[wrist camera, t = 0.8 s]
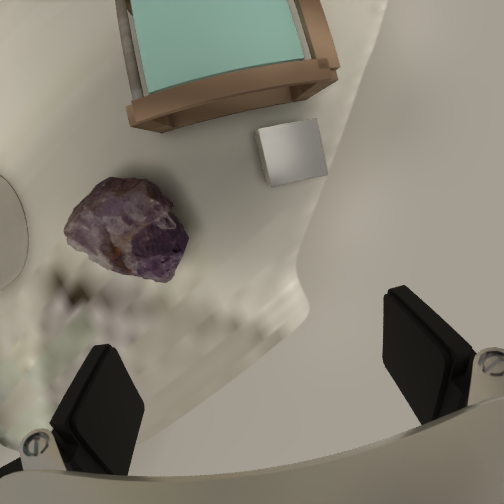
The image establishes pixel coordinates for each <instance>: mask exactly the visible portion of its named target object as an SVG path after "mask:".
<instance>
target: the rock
mask: <svg viewBox="0 0 504 504" xmlns="http://www.w3.org/2000/svg"><path fill="white" fill-rule="evenodd" d="M172 207H174V205H173V202H172V201H170V200H169V199H168V198H167V197H166V196H164V195H163V193H162V192H161V191H160V189H159V188H158V186H156V185H155V184H153V183H152V182H150V181H148V180H147V179H137V178H125V179H122V178H115V177H109V178H107V179H105V180H104V181H102V182H100V183H99V184H97V185H96V186H95V187H94V189H93V190H92V192H91V193H90V194H89V195H88V196H86V197H85V198H84V199H83V200H82V201H81V202H80V204H78V205H77V206H76V207H75V208H74V209H73V212H72V214H71V215H70V217H69V219H68V222H67V224H66V226H65V228H64V234H65V236H66V237H67V243H68V245H70V246H72V247H73V248H74V249H75V250H76V251H82V252H85V253H87V254H88V255H89V259H90V260H91V261H93V262H96V263H98V264H100V265H101V266H102V267H104V268H106V269H108V270H112V271H115V272H118V273H120V274H124V275H134V276H139V277H143V279H152V280H154V281H155V282H162V283H166V282H168V281H170V280H171V279H172V278H173V276H174V274H175V270H176V268H177V266H178V264H179V262H180V260H181V258H182V256H183V253H184V251H185V248H186V245H187V243H188V240H189V237H188V235H187V233H186V232H185V231H184V229H183V226H182V224H180V223H179V220H178V219H177V217H175V216H174V215H173V214H172V213H171V212H170V209H171V208H172Z"/></svg>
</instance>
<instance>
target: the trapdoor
mask: <svg viewBox="0 0 504 504" xmlns="http://www.w3.org/2000/svg"><path fill="white" fill-rule="evenodd" d="M130 1H131V7H132V13H133V18H134V24H135V30H136V35H137V40H138V46H139V51H140V56H141V61H142V66H143V71H144V75H145V80H146V85H147V89H148V93H149V94H154V93H157V92H160V91H163V90H167V89H170V88H173V87H177V86H180V85H184V84H187V83H191V82H194V81H198V80H202V79H206V78H210V77H214V76H218V75H223V74H227V73H232V72H236V71H241V70H246V69H251V68H256V67H262V66H268V65H274V64H280V63H287V62H294V61H302V60H303V59H304V54H303V51H302V47H301V44H300V41H299V37H298V34H297V30H296V27H295V24H294V21H293V18H292V14H291V11H290V8H289V5H288V2H287V0H130Z"/></svg>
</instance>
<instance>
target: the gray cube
mask: <svg viewBox="0 0 504 504" xmlns="http://www.w3.org/2000/svg"><path fill="white" fill-rule="evenodd" d="M254 134H255V138H256V142H257V146H258V151H259V155H260V159H261V164H262V168H263V172H264V177H265V181H266V182H267V183H268V184H269V185H270V186H271V187H274V186H278V185H283V184H287V183H292V182H296V181H301V180H306V179H311V178H316V177H320V176H325V175H328V171H327V166H326V161H325V156H324V151H323V146H322V141H321V137H320V132H319V127H318V123H317V118H314V119H307V120H302V121H296V122H290V123H285V124H280V125H275V126H270V127H265V128H260V129H257V130H256V131H255V132H254Z"/></svg>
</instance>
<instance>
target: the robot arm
mask: <svg viewBox="0 0 504 504" xmlns="http://www.w3.org/2000/svg"><path fill="white" fill-rule="evenodd" d="M382 358H383V363H384V365H385V367H386V369H387V370H388V372H389V373H390V375H391V376H392V378H393V379H394V381H395V382H396V384H397V386H398V387H399V389H400V391H401V392H402V394H403V395H404V397H405V399H406V400H407V402H408V403H409V405H410V407H411V408H412V410H413V411H414V413H415V415H416V416H417V418H418V420H419V421H420V423H421V426H419V427H416V428H414V429H411V430H408V431H406V432H403V433H400V434H397V435H394V436H392V437H389V438H386V439H383V440H380V441H377V442H374V443H371V444H368V445H365V446H362V447H359V448H355V449H352V450H348V451H344V452H341V453H337V454H333V455H329V456H325V457H321V458H317V459H312V460H308V461H303V462H298V463H293V464H288V465H283V466H277V467H271V468H265V469H258V470H252V471H244V472H235V473H225V474H214V475H200V476H176V477H175V476H174V477H147V476H146V477H145V476H127V475H128V471H129V467H130V463H131V459H132V455H133V451H134V447H135V443H136V440H137V436H138V432H139V428H140V425H141V421H142V417H143V414H144V403H143V400H142V399H141V397H140V395H139V393H138V391H137V389H136V387H135V386H134V384H133V382H132V380H131V378H130V376H129V374H128V372H127V370H126V368H125V366H124V364H123V362H122V360H121V358H120V356H119V354H118V352H117V350H116V349H115V348H114V347H112V346H111V345H109V344H103V345H95V346H94V347H93V348H92V349H91V351H90V353H89V354H88V356H87V358H86V359H85V361H84V363H83V364H82V366H81V368H80V369H79V371H78V373H77V374H76V376H75V378H74V380H73V381H72V383H71V385H70V386H69V388H68V390H67V392H66V394H65V395H64V397H63V399H62V401H61V403H60V404H59V406H58V408H57V410H56V412H55V413H54V415H53V417H52V419H51V421H50V424H51V426H52V427H53V430H52V432H51V431H49V430H48V429H43V428H42V429H36V430H33V431H31V432H30V433H28V434H27V435H26V436H25V437H24V438H23V440H22V441H21V443H20V447H19V452H20V457H19V458H18V459H16V460H14V461H12V462H10V463H9V464H7V465H5V466H3V467H1V468H0V504H504V349H502V348H496V347H492V348H486V349H483V350H481V351H480V352H478V353H476V352H475V351H474V350H473V349H472V346H471V345H469V343H467V342H466V341H465V340H464V339H463V338H462V337H461V336H460V335H459V334H458V333H457V332H456V331H455V330H454V329H453V328H452V327H451V326H450V325H449V324H448V323H446V322H445V321H444V320H443V319H442V318H441V317H440V316H439V315H438V314H436V313H435V312H434V311H433V310H432V309H431V308H430V307H429V306H428V305H427V304H426V303H425V302H423V301H422V300H421V299H420V298H419V297H418V296H417V295H416V294H414V293H413V292H412V291H411V290H410V289H409V288H408V287H406V286H405V285H402V286H398V287H395V288H391V289H389V290H388V293H387V294H385V295H384V317H383V356H382Z"/></svg>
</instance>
